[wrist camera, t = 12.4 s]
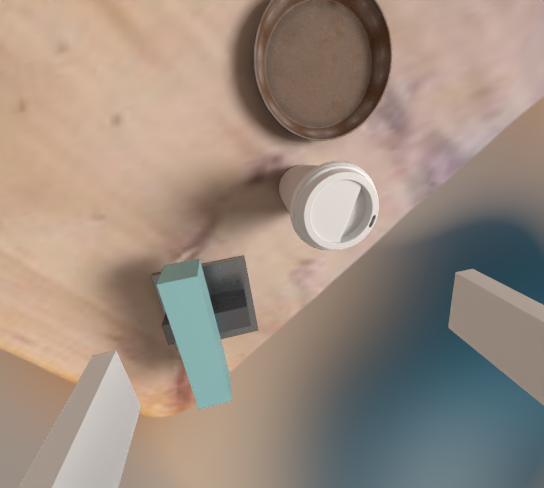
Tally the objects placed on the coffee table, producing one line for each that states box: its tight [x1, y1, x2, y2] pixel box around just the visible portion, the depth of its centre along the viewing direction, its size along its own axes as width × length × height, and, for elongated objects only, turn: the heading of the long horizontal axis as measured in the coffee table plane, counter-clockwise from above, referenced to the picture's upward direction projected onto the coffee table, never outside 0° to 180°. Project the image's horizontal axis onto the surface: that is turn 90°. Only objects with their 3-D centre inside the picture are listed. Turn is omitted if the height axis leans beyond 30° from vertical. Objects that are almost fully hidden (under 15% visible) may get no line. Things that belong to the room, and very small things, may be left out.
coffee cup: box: [279, 161, 379, 250], centre depth 34 cm, size 10×10×15 cm
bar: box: [157, 259, 231, 409], centre depth 37 cm, size 4×20×5 cm, turn 8°
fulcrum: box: [151, 256, 258, 350], centre depth 43 cm, size 14×14×6 cm
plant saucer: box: [254, 0, 392, 141], centre depth 35 cm, size 18×18×3 cm
